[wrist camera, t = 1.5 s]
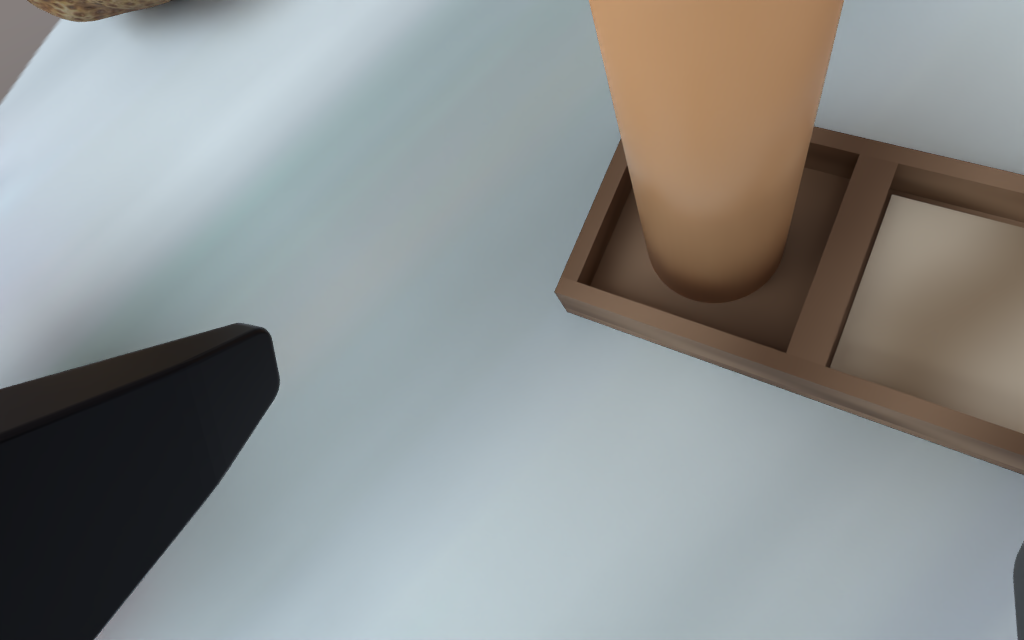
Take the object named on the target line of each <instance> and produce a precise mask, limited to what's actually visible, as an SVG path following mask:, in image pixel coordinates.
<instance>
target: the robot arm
mask: <svg viewBox="0 0 1024 640" xmlns="http://www.w3.org/2000/svg"><path fill="white" fill-rule="evenodd" d="M279 385H280V377H279V372H278V367H277V362H276V357H275V352H274V347H273V342H272V338H271V335H270V334H269V332H268V331H267V330H266V329H264V328H262V327H258V326H254V325H249V324H244V323H235V324H231V325H228V326H224V327H221V328H217V329H213V330H210V331H206V332H203V333H199V334H196V335H192V336H188V337H185V338H181V339H178V340H174V341H170V342H167V343H163V344H160V345H156V346H153V347H149V348H145V349H142V350H138V351H135V352H131V353H128V354H124V355H120V356H117V357H113V358H110V359H106V360H103V361H99V362H95V363H92V364H88V365H85V366H81V367H78V368H74V369H70V370H67V371H63V372H60V373H56V374H53V375H49V376H45V377H42V378H38V379H35V380H31V381H28V382H24V383H20V384H17V385H13V386H10V387H6V388H3V389H0V640H94V639H95V638H96V637H97V636H98V634H99V633H100V632H101V631H102V629H103V628H104V627H105V626H106V624H107V623H108V622H109V621H110V619H111V618H112V617H113V616H114V614H115V613H116V612H117V611H118V609H119V608H120V607H121V606H122V604H123V603H124V602H125V601H126V599H127V598H128V597H129V596H130V594H131V593H132V592H133V591H134V589H135V588H136V587H137V586H138V584H139V583H140V582H141V581H142V579H143V578H144V577H145V576H146V574H147V573H148V572H149V571H150V569H151V568H152V567H153V566H154V564H155V563H156V562H157V561H158V559H159V558H160V557H161V556H162V554H163V553H164V552H165V551H166V550H167V548H168V547H169V546H170V545H171V543H172V542H173V541H174V540H175V538H176V537H177V536H178V535H179V533H180V532H181V531H182V530H183V528H184V527H185V526H186V525H187V523H188V522H189V521H190V520H191V518H192V517H193V516H194V515H195V513H196V512H197V511H198V510H199V508H200V507H201V506H202V505H203V503H204V502H205V501H206V500H207V498H208V497H209V496H210V494H211V493H212V492H213V490H214V489H215V488H216V487H217V485H218V484H219V482H220V481H221V479H222V478H223V477H224V475H225V474H226V472H227V471H228V469H229V468H230V466H231V465H232V463H233V462H234V460H235V459H236V457H237V455H238V454H239V452H240V451H241V449H242V448H243V446H244V445H245V443H246V442H247V440H248V439H249V437H250V436H251V434H252V432H253V431H254V429H255V428H256V426H257V425H258V423H259V422H260V420H261V419H262V417H263V416H264V414H265V413H266V411H267V410H268V408H269V406H270V405H271V403H272V402H273V400H274V399H275V397H276V395H277V393H278V390H279ZM1013 583H1014V596H1015V609H1016V623H1017V636H1018V640H1024V542H1023V544H1022V546H1021V548H1020V550H1019V552H1018V554H1017V557H1016V560H1015V564H1014V572H1013Z"/></svg>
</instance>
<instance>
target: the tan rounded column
mask: <svg viewBox="0 0 1024 640" xmlns="http://www.w3.org/2000/svg"><path fill="white" fill-rule="evenodd" d="M589 2H590V6H591V11H592V15H593V19H594V24H595V28H596V32H597V36H598V41H599V45H600V49H601V54H602V58H603V62H604V66H605V71H606V75H607V79H608V84H609V88H610V92H611V96H612V101H613V105H614V109H615V114H616V118H617V122H618V126H619V131H620V135H621V139H622V144H623V148H624V152H625V156H626V161H627V165H628V169H629V174H630V178H631V182H632V186H633V191H634V195H635V199H636V204H637V208H638V212H639V216H640V221H641V225H642V229H643V234H644V238H645V242H646V247H647V251H648V255H649V258H650V262H651V264H652V266H653V269H654V271H655V272H656V274H657V275H658V277H659V278H660V279H661V280H662V281H663V283H664V284H665V285H667V286H668V287H669V288H670V289H671V290H673V291H674V292H676V293H677V294H679V295H681V296H683V297H685V298H688V299H691V300H694V301H698V302H704V303H724V302H730V301H734V300H738V299H741V298H743V297H745V296H748V295H750V294H751V293H753V292H755V291H756V290H758V289H759V288H760V287H762V286H763V285H764V284H765V283H766V282H767V281H768V280H769V279H770V278H771V277H772V275H773V274H774V273H775V271H776V270H777V268H778V266H779V264H780V262H781V259H782V257H783V253H784V249H785V244H786V240H787V236H788V232H789V228H790V224H791V219H792V215H793V211H794V207H795V203H796V198H797V194H798V190H799V186H800V182H801V178H802V173H803V169H804V165H805V161H806V157H807V153H808V148H809V144H810V140H811V136H812V132H813V127H814V123H815V119H816V115H817V111H818V107H819V102H820V98H821V94H822V90H823V86H824V81H825V77H826V73H827V69H828V65H829V61H830V56H831V52H832V48H833V44H834V40H835V35H836V31H837V27H838V23H839V19H840V15H841V10H842V6H843V2H844V0H589Z"/></svg>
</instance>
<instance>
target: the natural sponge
mask: <svg viewBox="0 0 1024 640" xmlns="http://www.w3.org/2000/svg"><path fill="white" fill-rule="evenodd" d="M27 1H29V2H30V3H31V4H33V5H35V6H36V7H37V8H40V9H42V10H44V11H46V12H48V13H50V14H52V15H54V16H57V17H60V18H62V19H66V20H70V21H76V22H87V21H96V20H100V19H104V18H108V17H112V16H115V15H119V14H122V13H127V12H131V11H135V10H141V9H145V8H150V7H154V6H157V5H160V4H164V3H167V2H169V1H172V0H27Z"/></svg>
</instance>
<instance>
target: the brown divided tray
mask: <svg viewBox="0 0 1024 640" xmlns="http://www.w3.org/2000/svg"><path fill="white" fill-rule="evenodd" d="M555 294H556V295H557V297H558V298H559V300H560V301H561V303H562V304H563V306H564V308H565V309H566V311H567V312H569V313H572V314H575V315H578V316H580V317H583V318H586V319H589V320H592V321H594V322H597V323H600V324H603V325H606V326H608V327H611V328H614V329H617V330H620V331H622V332H625V333H628V334H631V335H634V336H636V337H639V338H642V339H645V340H648V341H650V342H653V343H656V344H659V345H662V346H664V347H667V348H670V349H673V350H676V351H678V352H681V353H684V354H687V355H690V356H692V357H695V358H698V359H701V360H704V361H706V362H709V363H712V364H715V365H718V366H720V367H723V368H726V369H729V370H732V371H734V372H737V373H740V374H743V375H746V376H748V377H751V378H754V379H757V380H760V381H762V382H765V383H768V384H771V385H774V386H776V387H779V388H782V389H785V390H788V391H790V392H793V393H796V394H799V395H802V396H804V397H807V398H810V399H813V400H816V401H818V402H821V403H824V404H827V405H830V406H832V407H835V408H838V409H841V410H844V411H846V412H849V413H852V414H855V415H858V416H860V417H863V418H866V419H869V420H872V421H874V422H877V423H880V424H883V425H886V426H888V427H891V428H894V429H897V430H900V431H902V432H905V433H908V434H911V435H914V436H916V437H919V438H922V439H925V440H928V441H930V442H933V443H936V444H939V445H942V446H944V447H947V448H950V449H953V450H956V451H959V452H961V453H964V454H967V455H970V456H973V457H975V458H978V459H981V460H984V461H987V462H989V463H992V464H995V465H998V466H1001V467H1003V468H1006V469H1009V470H1012V471H1015V472H1017V473H1020V474H1023V475H1024V175H1021V174H1017V173H1012V172H1008V171H1004V170H1000V169H995V168H991V167H987V166H982V165H978V164H974V163H969V162H965V161H961V160H957V159H952V158H948V157H944V156H939V155H935V154H931V153H926V152H922V151H918V150H913V149H909V148H905V147H901V146H896V145H892V144H888V143H883V142H879V141H875V140H870V139H866V138H862V137H858V136H853V135H849V134H845V133H840V132H836V131H832V130H827V129H823V128H819V127H813V132H812V136H811V140H810V144H809V148H808V153H807V157H806V161H805V165H804V169H803V173H802V178H801V182H800V186H799V190H798V194H797V198H796V203H795V207H794V211H793V215H792V219H791V224H790V228H789V232H788V236H787V240H786V244H785V249H784V253H783V257H782V259H781V262H780V264H779V266H778V268H777V270H776V271H775V273H774V274H773V275H772V277H771V278H770V279H769V280H768V281H767V282H766V283H765V284H764V285H763V286H762V287H760V288H759V289H758V290H756V291H755V292H753V293H751V294H750V295H748V296H745V297H743V298H741V299H738V300H734V301H730V302H724V303H704V302H698V301H694V300H691V299H688V298H685V297H683V296H681V295H679V294H677V293H676V292H674V291H673V290H671V289H670V288H669V287H668V286H667V285H665V284H664V283H663V281H662V280H661V279H660V278H659V277H658V275H657V274H656V272H655V271H654V269H653V266H652V264H651V262H650V258H649V255H648V251H647V247H646V242H645V238H644V234H643V229H642V225H641V221H640V216H639V212H638V208H637V204H636V199H635V195H634V191H633V186H632V182H631V178H630V174H629V169H628V165H627V161H626V156H625V152H624V148H623V144H622V139H621V140H620V142H619V144H618V147H617V149H616V151H615V153H614V156H613V158H612V160H611V163H610V165H609V167H608V170H607V172H606V174H605V176H604V179H603V181H602V183H601V186H600V188H599V190H598V193H597V195H596V197H595V200H594V202H593V204H592V206H591V209H590V211H589V213H588V216H587V218H586V220H585V223H584V225H583V227H582V230H581V232H580V234H579V236H578V239H577V241H576V243H575V246H574V248H573V250H572V253H571V255H570V257H569V259H568V262H567V264H566V266H565V269H564V271H563V273H562V276H561V278H560V280H559V283H558V285H557V287H556V289H555Z"/></svg>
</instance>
